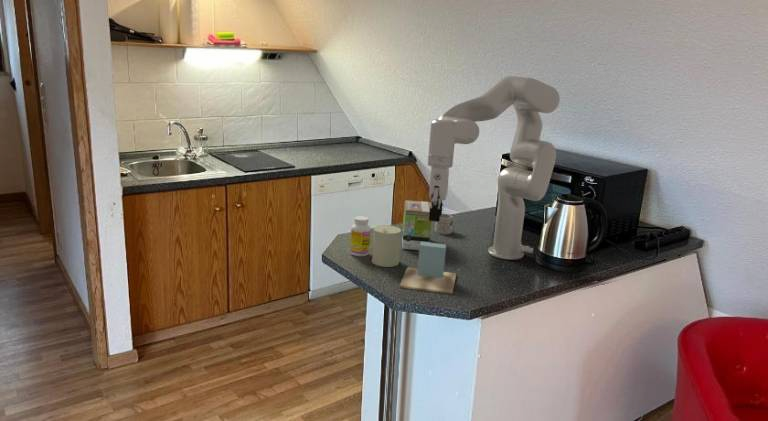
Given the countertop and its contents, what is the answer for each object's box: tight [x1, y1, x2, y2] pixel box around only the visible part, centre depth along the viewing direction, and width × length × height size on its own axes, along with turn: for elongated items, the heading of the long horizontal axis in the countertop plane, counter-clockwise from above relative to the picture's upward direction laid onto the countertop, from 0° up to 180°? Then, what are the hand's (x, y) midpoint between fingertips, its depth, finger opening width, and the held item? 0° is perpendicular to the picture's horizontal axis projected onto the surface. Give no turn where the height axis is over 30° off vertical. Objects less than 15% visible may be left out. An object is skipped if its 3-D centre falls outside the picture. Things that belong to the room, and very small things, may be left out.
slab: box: [417, 242, 447, 278], centre depth 189 cm, size 8×4×10 cm, turn 79°
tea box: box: [401, 199, 433, 251], centre depth 219 cm, size 15×10×15 cm
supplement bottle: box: [349, 215, 372, 257], centre depth 205 cm, size 7×7×13 cm
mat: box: [399, 267, 457, 295], centre depth 186 cm, size 16×16×1 cm
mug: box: [434, 213, 454, 236], centre depth 238 cm, size 10×7×7 cm, turn 12°
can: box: [371, 224, 402, 268], centre depth 199 cm, size 9×9×12 cm
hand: (435, 217), depth 185 cm, fingers open, 6 cm apart
